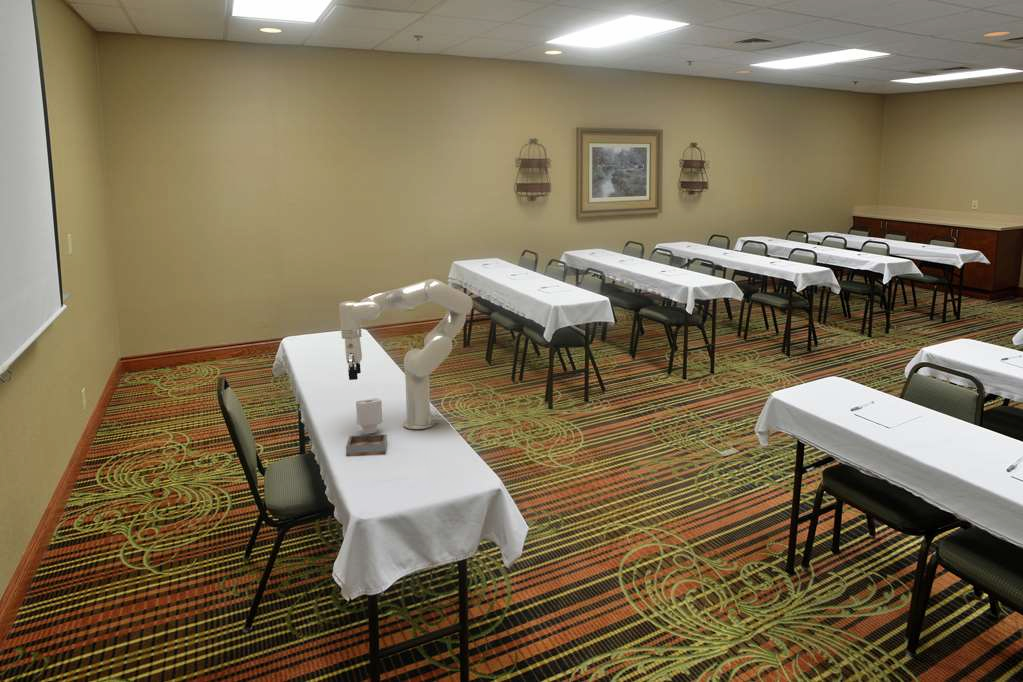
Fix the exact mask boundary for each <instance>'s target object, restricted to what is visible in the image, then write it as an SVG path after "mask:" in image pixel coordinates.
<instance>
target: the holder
mask: <svg viewBox="0 0 1023 682" xmlns="http://www.w3.org/2000/svg"><path fill="white" fill-rule="evenodd" d="M387 446H388V434H387V433H385V434H384V433H383V434H382V433H381V434H369V435H368V434H362V435H359V434H358V435H349V437H348V439H347V442H346V445H345V454H346V455H345V456H346V457H354V456H355V457H356V456H357V457H359V456H375V455H376V456H378V455H382V456H383V455H386V452H387Z"/></svg>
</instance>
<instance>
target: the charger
mask: <svg viewBox="0 0 1023 682" xmlns="http://www.w3.org/2000/svg"><path fill="white" fill-rule="evenodd" d="M355 406H356V409H355V410H356V425H359V426H360V427H361V428H362V431H363V433H362V435H370V434H371V435H374V433H376V432H377V431H378V425H381V424H382V423H383V409H382V407H383V406H382V400H381V399H380V398H376V397H375V398H370V399H369V398H368V399H363V400H358V401H356V402H355Z"/></svg>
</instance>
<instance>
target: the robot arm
mask: <svg viewBox="0 0 1023 682" xmlns="http://www.w3.org/2000/svg"><path fill="white" fill-rule="evenodd" d="M430 302H432V303H435V304H437V305H438V306H440V307H443V308H445V309H446V312H445V313H446V314H445V315H444V317H443V318H442V319H441V321H439V323H438V324H437V325H435V327H434V328H433V329H432V330H430V331H429V332H428V333H427V334H426V336H425V337H424V339H423V340H424V341H423V345H424V347H422V348H421V349H420V348H411V349H409V350H408V351H407V352H406V354H405V355H404V359H403V369H404V379H405V380H404V381H405V401H406V402H405V403H406V404H405V405H406V408H405V409H406V420H403V422H402V425H403V427H404V428H406V429H409V430H410V429H411V430H424V429H428V428H431V427H433V426H434V425H435V421H437V422H439V421H442V415H439V414H432V411H431V403H430V402H431V401H430V400H431V399H430V398H431V397H430V393H431V392H430V375H431V374H432V373H433V372H434V371H435V370H436V369H437V368H438V367H439V366H440V365H441V364H442V363H443V362H444V361H445V360H446V359H447V358H448V356H449V355H450V354H451V352H452V350H453V339H455V338H456V336H457V335H458V334H459V333H460V332H461V330H462V329H463V327H464V325H465V323H466V319H467V314H468V313H470V312H471V310H472V308H473V307H474V306H473V305H474V303H473V299H472V298H471V296H470V295H468V294H467V293H465V292H462V291H461V290H459V289H457V288H454V287H452V286H451V285H448V284H446V283H445V282H443V281H441V280H438V279H437V278H436V279H435V278H429V279H426V280H422V281H419V282H416V283H412V284H410V285H407V286H404V287H400V288H396V289H393V290H389V291H384V292H380V293H377V294H373V295H370V296H367V297H365V298H363V299H361V300H360V301H359V302H357V301H353V300H351V301H342V302H341V303H339V306H338V310H339V320H340V334H341V339H343V340H344V345H345V349H344V350H345V359H346V363H347V365H348V369H347V370H348V371H347V372H348V380H349V381H354V380H356V381H357V380H358V378H359V377H358V374H361V372H362V371H361V361H362V359H363V353H362V347H361V338H362V325H361V324H362V323H361V321H363V320H364V321H373V320H376V319H377V318H378V317H380V315H381V313H383V312H386V311H390V310H391V311H392V310H407V309H411V308H414V307H416V306H419V305H420V306H421V305H423V304H426V303H430Z"/></svg>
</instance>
